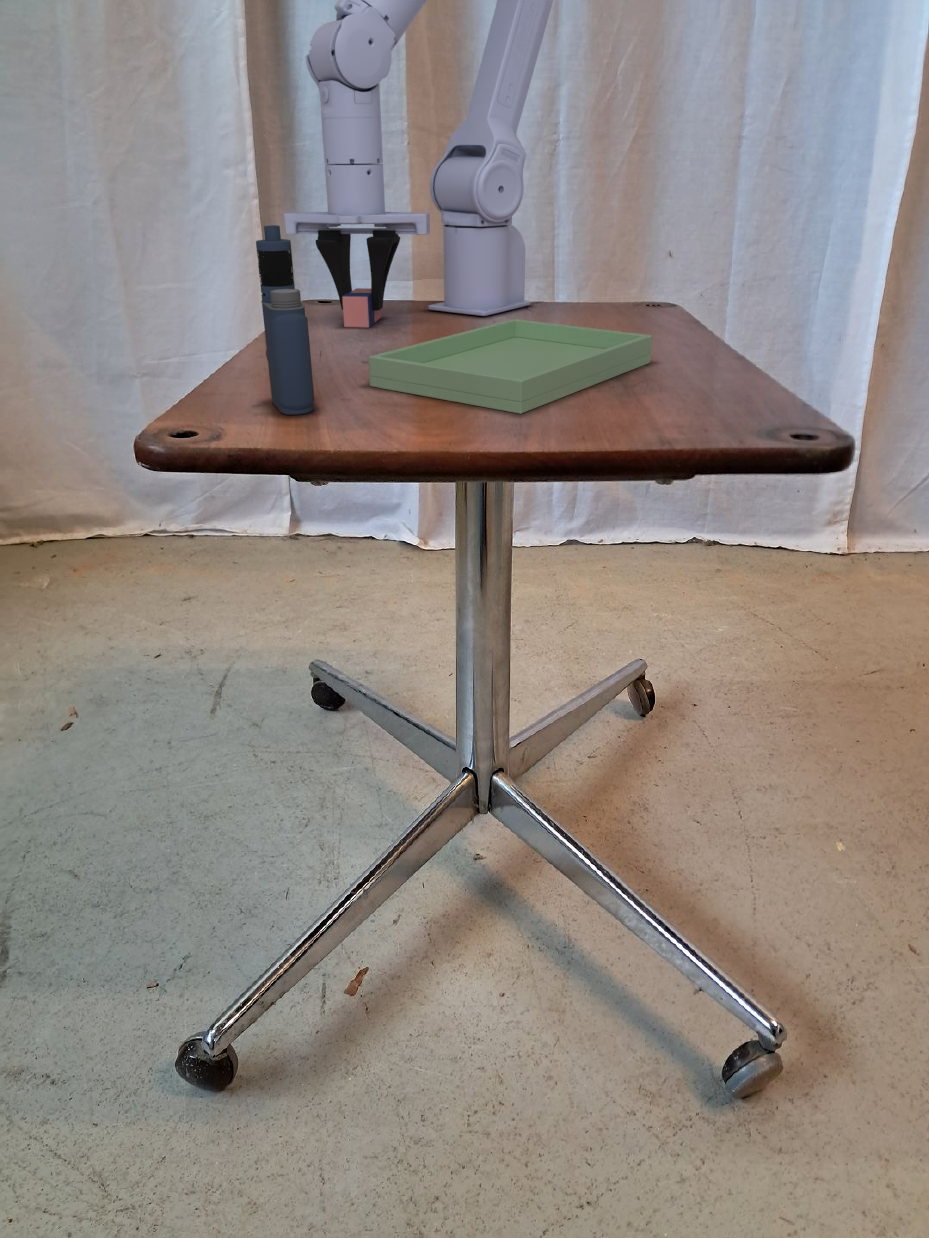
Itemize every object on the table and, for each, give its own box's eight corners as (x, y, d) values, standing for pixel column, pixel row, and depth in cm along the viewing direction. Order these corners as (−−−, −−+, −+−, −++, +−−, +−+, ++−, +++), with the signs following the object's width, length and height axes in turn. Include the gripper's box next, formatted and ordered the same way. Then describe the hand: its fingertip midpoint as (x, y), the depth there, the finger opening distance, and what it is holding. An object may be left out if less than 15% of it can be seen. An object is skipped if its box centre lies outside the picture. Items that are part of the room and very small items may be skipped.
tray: (513, 344, 86) (513, 318, 85) (650, 362, 78) (652, 335, 77) (369, 386, 72) (368, 356, 71) (520, 414, 64) (521, 381, 63)
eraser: (357, 317, 99) (355, 287, 98) (381, 318, 99) (380, 288, 98) (343, 327, 94) (341, 296, 93) (369, 328, 94) (367, 296, 92)
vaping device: (302, 396, 69) (287, 224, 63) (318, 413, 65) (303, 230, 59) (268, 400, 68) (249, 225, 63) (282, 417, 64) (263, 231, 58)
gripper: (269, 165, 87) (283, 314, 93) (419, 165, 85) (423, 316, 92) (291, 164, 93) (303, 303, 99) (431, 163, 91) (434, 305, 98)
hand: (362, 309), depth 96 cm, fingers closed on eraser, 3 cm apart
